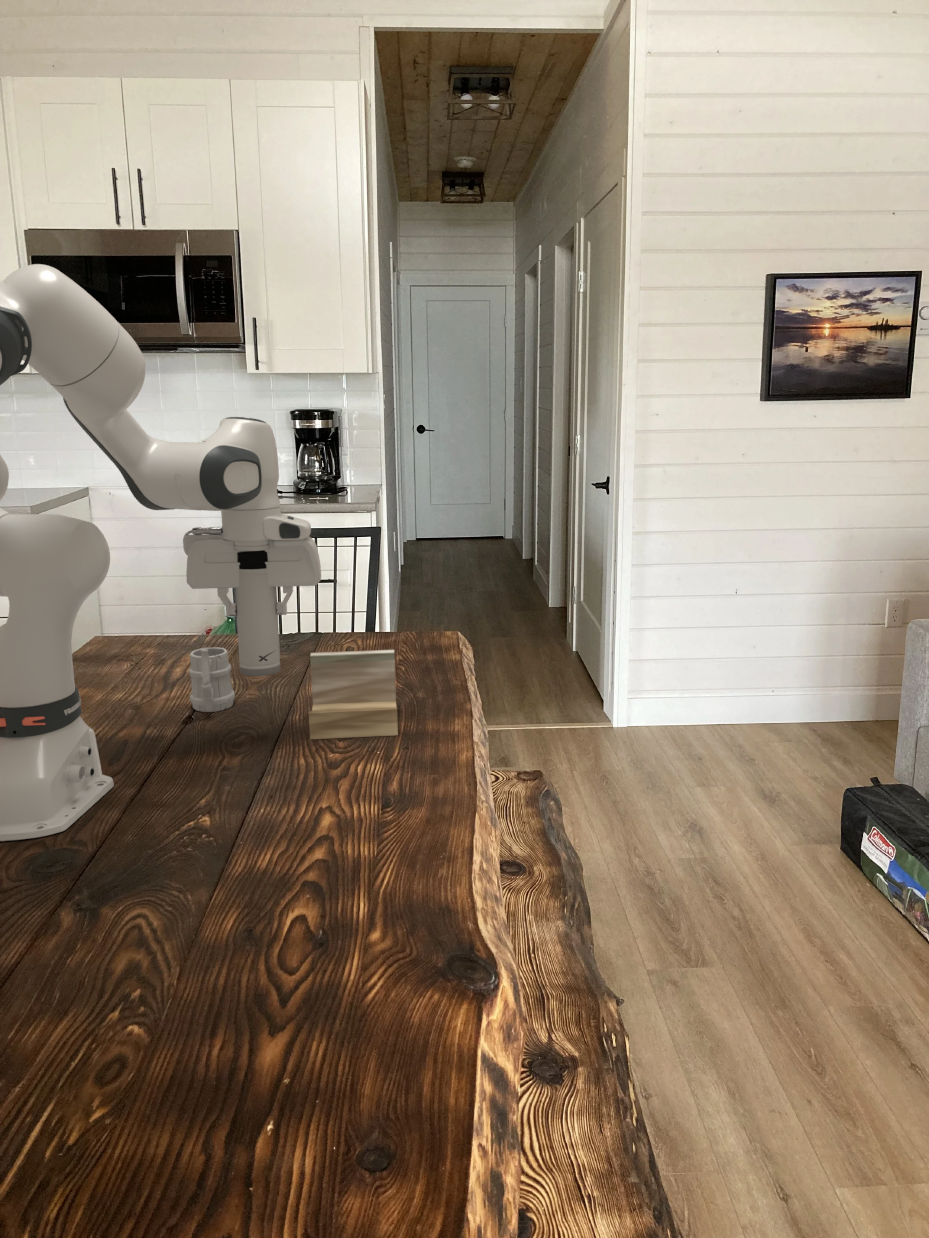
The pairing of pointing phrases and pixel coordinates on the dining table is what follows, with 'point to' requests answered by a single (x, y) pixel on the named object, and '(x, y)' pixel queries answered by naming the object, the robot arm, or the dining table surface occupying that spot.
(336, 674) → the wooden l bracket
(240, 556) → the travel mug
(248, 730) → the dining table surface
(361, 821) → the dining table surface
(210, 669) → the mug
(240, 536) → the robot arm
